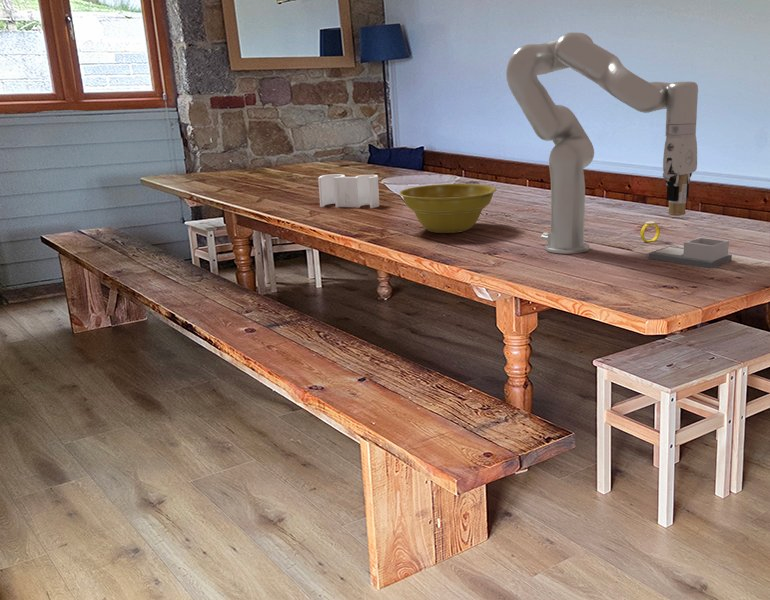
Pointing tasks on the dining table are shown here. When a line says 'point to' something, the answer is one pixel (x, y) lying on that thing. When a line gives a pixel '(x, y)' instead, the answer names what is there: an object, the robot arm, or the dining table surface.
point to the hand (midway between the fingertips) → (677, 198)
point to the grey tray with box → (696, 253)
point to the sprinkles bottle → (679, 206)
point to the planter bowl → (448, 205)
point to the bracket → (349, 190)
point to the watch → (645, 228)
